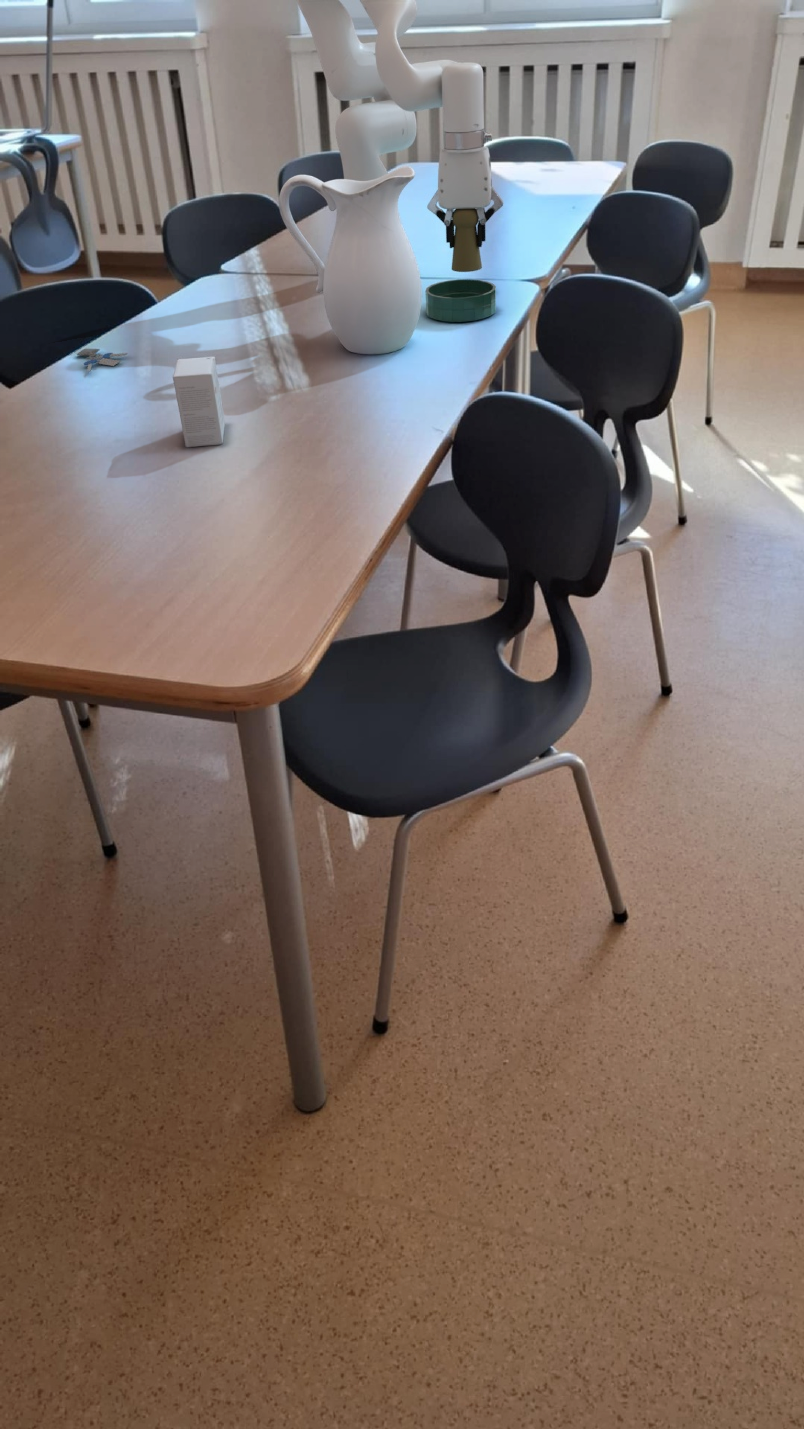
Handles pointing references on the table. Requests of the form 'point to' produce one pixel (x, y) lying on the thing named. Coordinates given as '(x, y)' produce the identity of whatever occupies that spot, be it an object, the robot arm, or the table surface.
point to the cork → (465, 241)
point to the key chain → (99, 357)
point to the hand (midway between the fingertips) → (466, 245)
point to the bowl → (460, 300)
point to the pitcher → (364, 261)
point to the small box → (199, 401)
